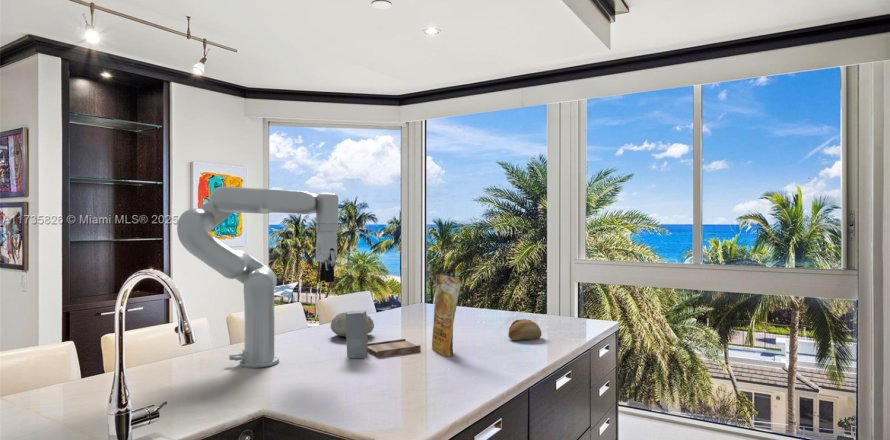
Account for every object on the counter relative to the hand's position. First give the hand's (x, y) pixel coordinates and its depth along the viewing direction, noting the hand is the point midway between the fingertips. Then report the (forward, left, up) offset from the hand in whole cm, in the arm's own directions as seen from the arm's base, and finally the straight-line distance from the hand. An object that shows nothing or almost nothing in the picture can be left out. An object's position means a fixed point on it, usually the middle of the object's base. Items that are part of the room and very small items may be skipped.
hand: (327, 280), depth 181 cm
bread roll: (+80, -10, -28) cm, 85 cm away
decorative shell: (+21, +30, -28) cm, 46 cm away
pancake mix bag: (+41, -11, -28) cm, 51 cm away
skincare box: (+11, 0, -28) cm, 30 cm away
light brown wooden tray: (+25, 0, -27) cm, 37 cm away
